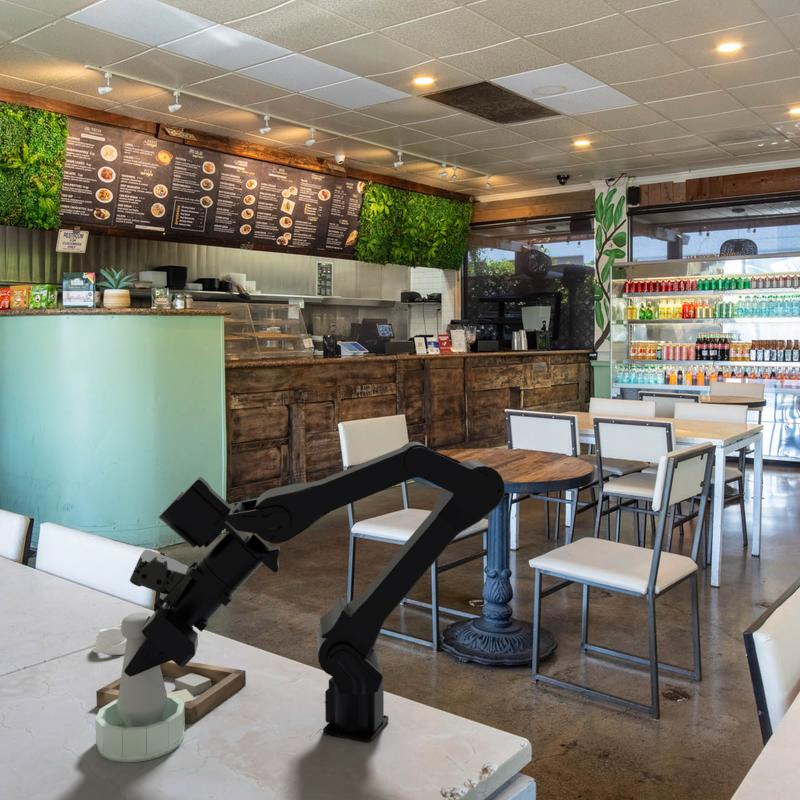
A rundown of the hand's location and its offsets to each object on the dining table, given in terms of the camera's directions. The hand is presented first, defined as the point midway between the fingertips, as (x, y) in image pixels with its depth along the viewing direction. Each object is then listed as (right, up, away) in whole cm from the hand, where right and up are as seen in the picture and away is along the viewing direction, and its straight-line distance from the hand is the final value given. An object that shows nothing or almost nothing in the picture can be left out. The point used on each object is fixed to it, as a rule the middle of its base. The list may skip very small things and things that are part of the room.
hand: (129, 667), depth 97 cm
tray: (+1, -8, +14) cm, 16 cm away
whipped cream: (-13, -8, +31) cm, 34 cm away
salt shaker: (+1, -7, +1) cm, 7 cm away
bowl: (+1, -9, +1) cm, 9 cm away
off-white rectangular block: (+3, -9, +16) cm, 19 cm away
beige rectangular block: (+3, -9, +11) cm, 14 cm away
